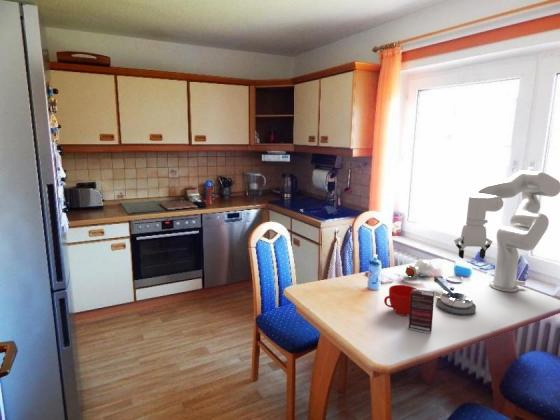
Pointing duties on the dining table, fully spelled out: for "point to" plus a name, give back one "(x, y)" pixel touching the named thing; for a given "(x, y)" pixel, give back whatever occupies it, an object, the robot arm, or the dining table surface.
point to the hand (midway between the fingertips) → (471, 257)
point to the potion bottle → (420, 268)
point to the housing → (455, 311)
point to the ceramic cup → (400, 298)
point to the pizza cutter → (453, 295)
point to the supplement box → (421, 310)
